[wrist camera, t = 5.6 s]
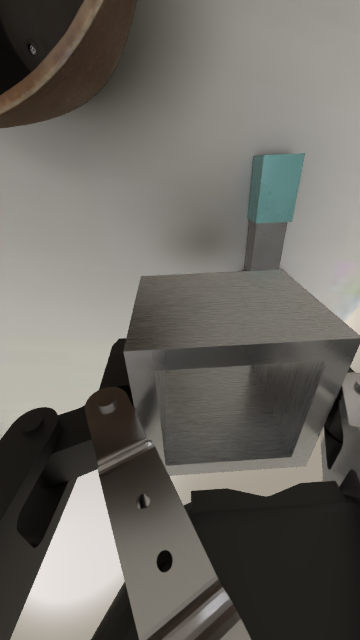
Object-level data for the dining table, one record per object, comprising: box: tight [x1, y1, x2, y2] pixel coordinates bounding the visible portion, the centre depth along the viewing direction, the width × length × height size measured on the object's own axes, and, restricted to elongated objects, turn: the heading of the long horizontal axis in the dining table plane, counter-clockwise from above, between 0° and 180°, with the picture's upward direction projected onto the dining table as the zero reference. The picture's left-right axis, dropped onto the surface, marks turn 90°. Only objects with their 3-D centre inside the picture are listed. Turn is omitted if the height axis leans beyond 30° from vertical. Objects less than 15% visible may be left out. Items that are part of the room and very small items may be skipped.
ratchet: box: [244, 153, 305, 271], centre depth 22 cm, size 17×7×8 cm, turn 2°
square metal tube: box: [123, 269, 360, 476], centre depth 10 cm, size 6×6×5 cm
